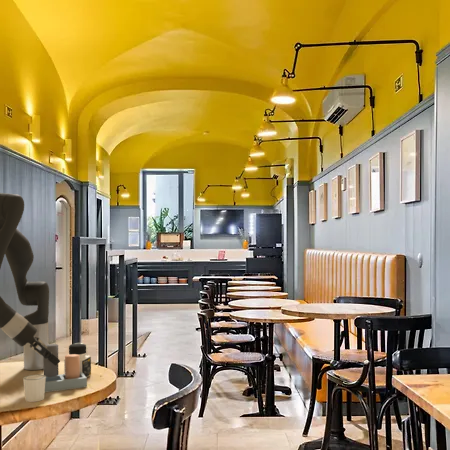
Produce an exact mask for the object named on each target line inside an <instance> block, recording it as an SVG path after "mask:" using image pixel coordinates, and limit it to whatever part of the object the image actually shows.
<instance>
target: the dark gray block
mask: <svg viewBox="0 0 450 450" xmlns="http://www.w3.org/2000/svg"><path fill="white" fill-rule="evenodd" d="M46 346H47V347H48V350H49V351H50V352H52V354H53V355H54V356H56V357H57V358H58V359H59V344H58V343H57V344H56V343H51V344H50V343H49V344H48V345H46ZM47 353H48V352H47V351H45V352H44V355H46V354H47ZM43 361H44V369H43V375H45V376H46V377H54V376H58V375H59V363H58V364H57V365H56V366H55V365H54V364H53V363H52V362H50V361H49V360H48V359H45V358H44V357H43Z"/></svg>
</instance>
